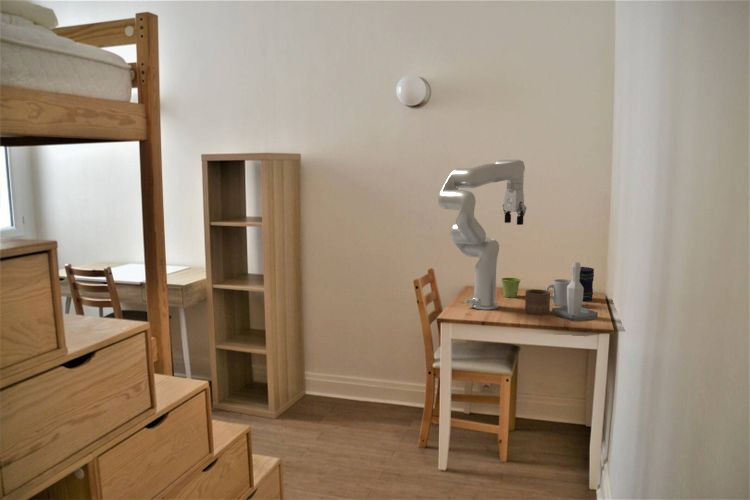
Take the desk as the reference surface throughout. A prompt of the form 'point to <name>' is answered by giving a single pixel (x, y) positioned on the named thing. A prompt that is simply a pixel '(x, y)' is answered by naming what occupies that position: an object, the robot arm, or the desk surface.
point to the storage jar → (587, 283)
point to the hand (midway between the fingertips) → (513, 223)
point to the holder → (537, 302)
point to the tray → (574, 317)
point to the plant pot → (510, 286)
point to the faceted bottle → (575, 291)
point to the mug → (559, 291)
